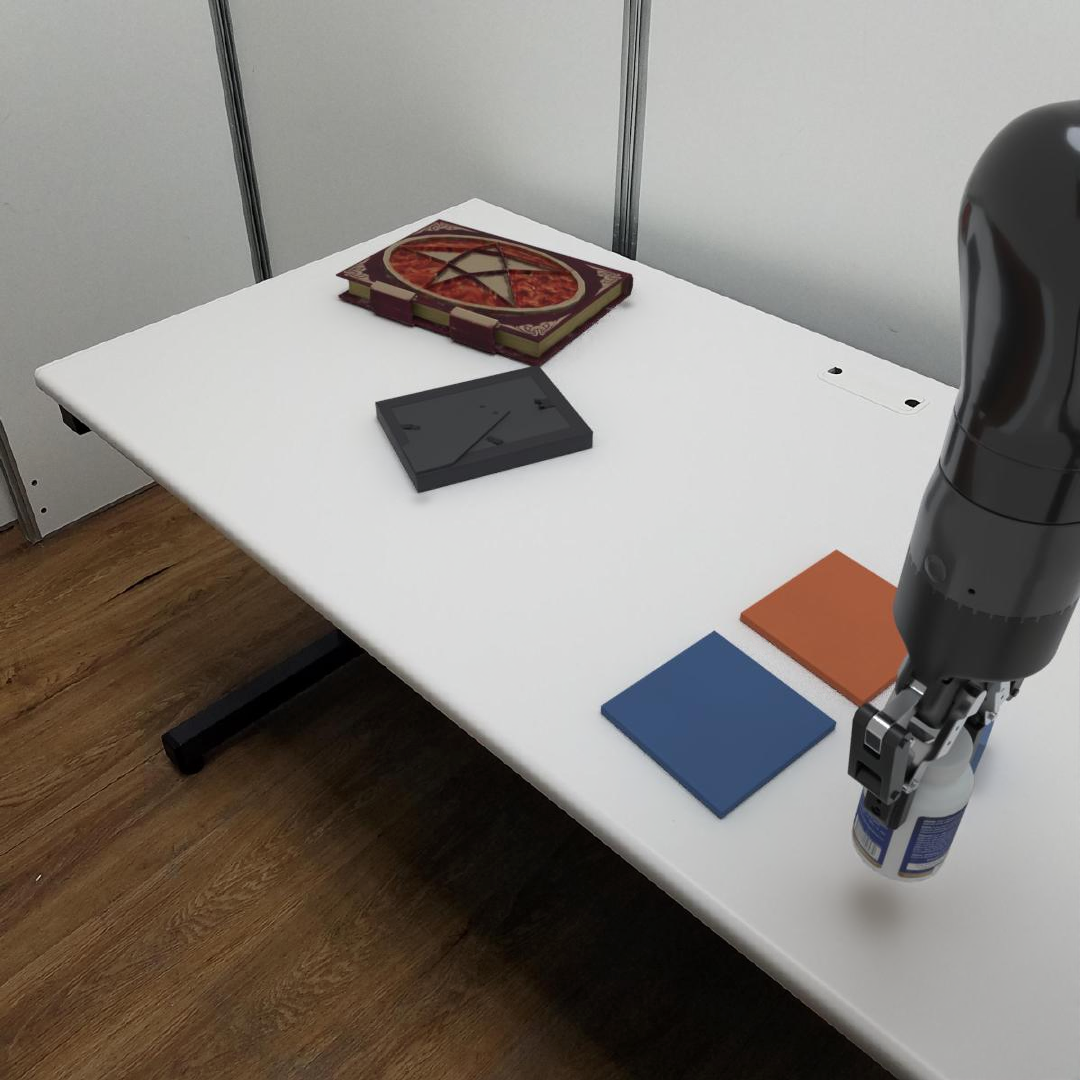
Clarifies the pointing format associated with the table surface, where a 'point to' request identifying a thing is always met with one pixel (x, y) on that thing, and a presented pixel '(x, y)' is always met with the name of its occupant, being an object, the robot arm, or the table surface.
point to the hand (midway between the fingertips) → (916, 786)
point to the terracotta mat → (835, 626)
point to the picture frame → (481, 427)
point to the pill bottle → (920, 818)
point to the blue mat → (718, 722)
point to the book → (486, 290)
